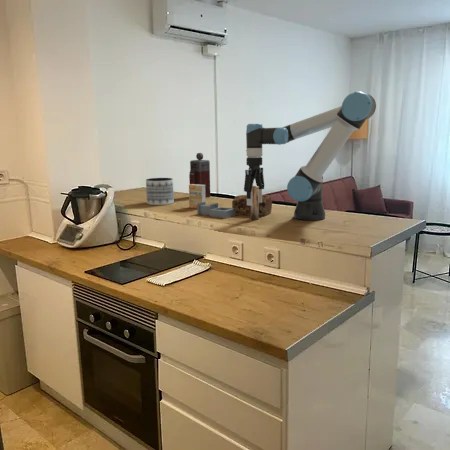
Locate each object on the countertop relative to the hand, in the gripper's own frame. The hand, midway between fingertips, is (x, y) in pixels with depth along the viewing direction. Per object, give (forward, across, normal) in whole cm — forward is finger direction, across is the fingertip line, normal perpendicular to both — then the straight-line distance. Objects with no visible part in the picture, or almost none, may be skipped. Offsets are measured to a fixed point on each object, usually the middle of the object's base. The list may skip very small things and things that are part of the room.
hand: (254, 203), depth 225 cm
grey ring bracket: (+7, 0, -22) cm, 24 cm away
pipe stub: (+7, 0, 0) cm, 7 cm away
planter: (+8, -16, -72) cm, 74 cm away
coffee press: (+8, -47, -65) cm, 81 cm away
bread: (+8, -12, -8) cm, 17 cm away
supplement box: (+8, -13, -43) cm, 46 cm away
